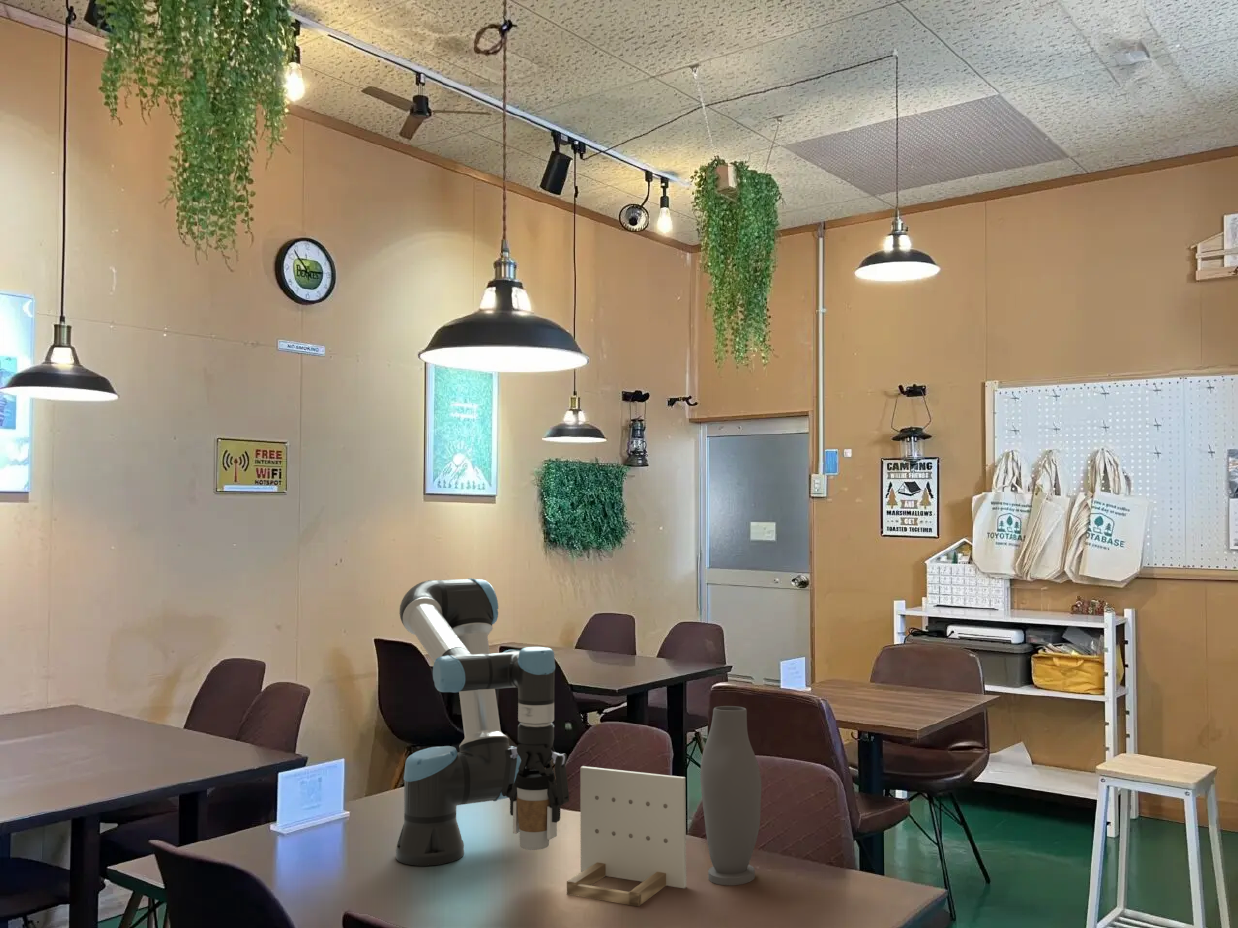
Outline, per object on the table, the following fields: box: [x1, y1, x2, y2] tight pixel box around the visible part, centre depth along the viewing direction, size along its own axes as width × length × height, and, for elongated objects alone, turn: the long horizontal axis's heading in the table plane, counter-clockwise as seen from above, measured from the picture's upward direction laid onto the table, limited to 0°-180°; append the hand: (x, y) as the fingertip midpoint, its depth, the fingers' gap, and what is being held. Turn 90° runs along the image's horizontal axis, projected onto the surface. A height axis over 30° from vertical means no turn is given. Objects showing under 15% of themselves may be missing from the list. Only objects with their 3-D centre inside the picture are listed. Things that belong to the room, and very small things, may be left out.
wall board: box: [579, 765, 687, 889], centre depth 215 cm, size 24×1×22 cm, turn 64°
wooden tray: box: [566, 863, 667, 907], centre depth 208 cm, size 16×13×2 cm
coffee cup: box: [515, 769, 556, 851], centre depth 212 cm, size 8×8×15 cm
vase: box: [699, 705, 762, 886], centre depth 217 cm, size 13×13×35 cm
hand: (534, 834), depth 212 cm, fingers closed on coffee cup, 7 cm apart
